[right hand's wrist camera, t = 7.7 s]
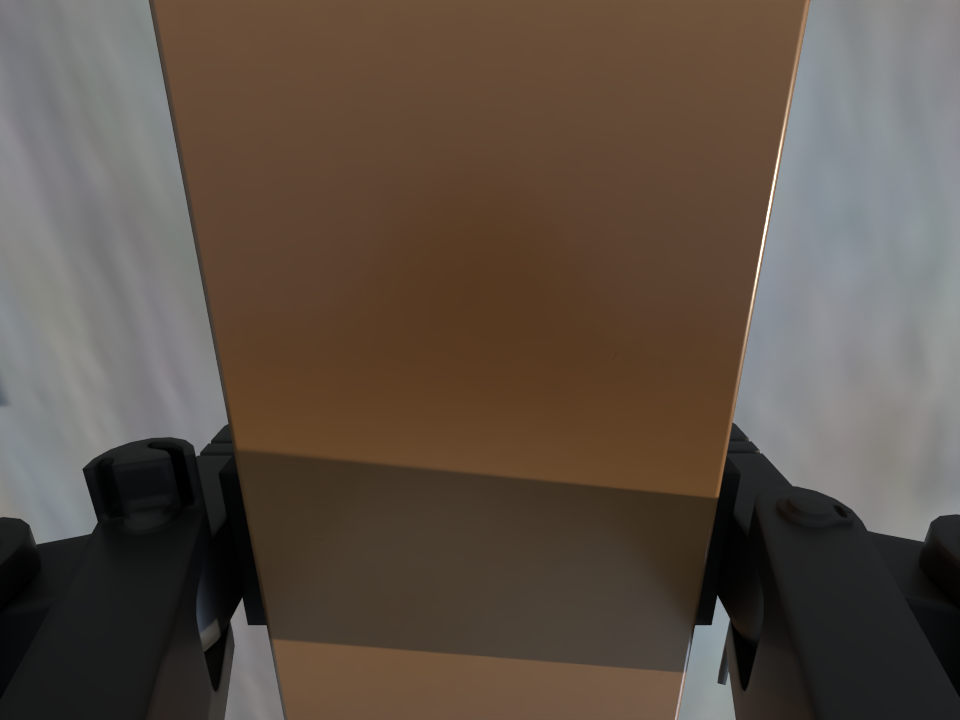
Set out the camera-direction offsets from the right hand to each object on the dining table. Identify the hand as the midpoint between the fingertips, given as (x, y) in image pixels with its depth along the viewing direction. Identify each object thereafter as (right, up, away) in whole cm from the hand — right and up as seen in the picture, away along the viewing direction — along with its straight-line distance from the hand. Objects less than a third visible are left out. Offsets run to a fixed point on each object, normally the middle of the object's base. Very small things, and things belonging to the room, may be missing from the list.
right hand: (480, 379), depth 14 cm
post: (0, +32, -12) cm, 34 cm away
